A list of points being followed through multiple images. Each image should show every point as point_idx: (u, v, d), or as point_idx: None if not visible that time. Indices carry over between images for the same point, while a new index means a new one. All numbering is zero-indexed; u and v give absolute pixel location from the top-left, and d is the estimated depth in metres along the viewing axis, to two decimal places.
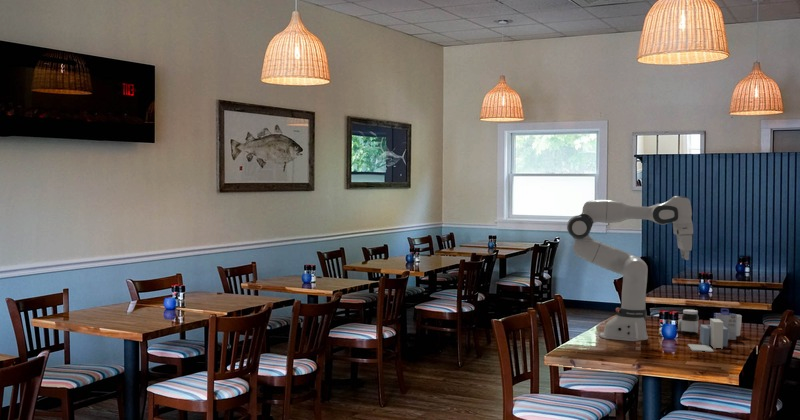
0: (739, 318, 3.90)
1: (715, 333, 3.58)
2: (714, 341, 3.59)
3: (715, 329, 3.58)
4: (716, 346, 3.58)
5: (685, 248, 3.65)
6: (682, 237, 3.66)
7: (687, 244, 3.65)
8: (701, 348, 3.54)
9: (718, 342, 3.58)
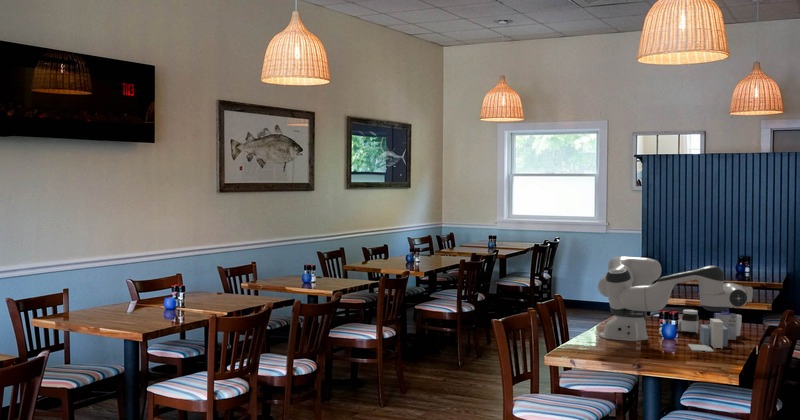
0: (739, 318, 3.90)
1: (715, 333, 3.58)
2: (714, 341, 3.59)
3: (715, 329, 3.58)
4: (716, 346, 3.58)
5: None
6: (751, 298, 3.35)
7: None
8: (701, 348, 3.54)
9: (718, 342, 3.58)
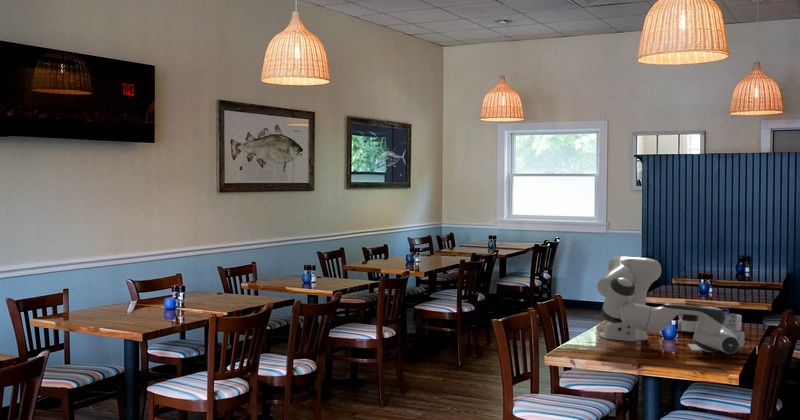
0: (739, 318, 3.90)
1: None
2: None
3: None
4: None
5: None
6: None
7: None
8: (701, 348, 3.54)
9: None
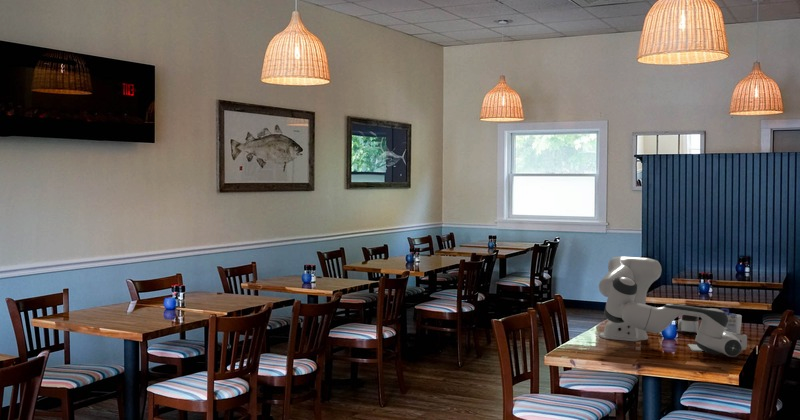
0: (739, 318, 3.90)
1: None
2: None
3: None
4: None
5: None
6: None
7: None
8: None
9: None
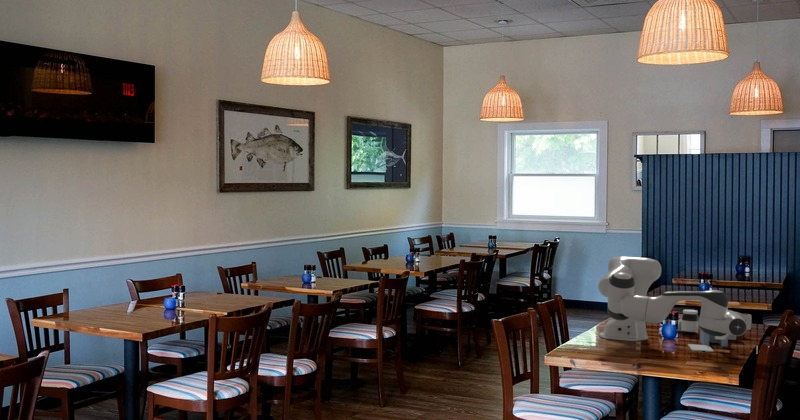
0: None
1: None
2: None
3: None
4: None
5: None
6: None
7: None
8: (701, 348, 3.54)
9: None
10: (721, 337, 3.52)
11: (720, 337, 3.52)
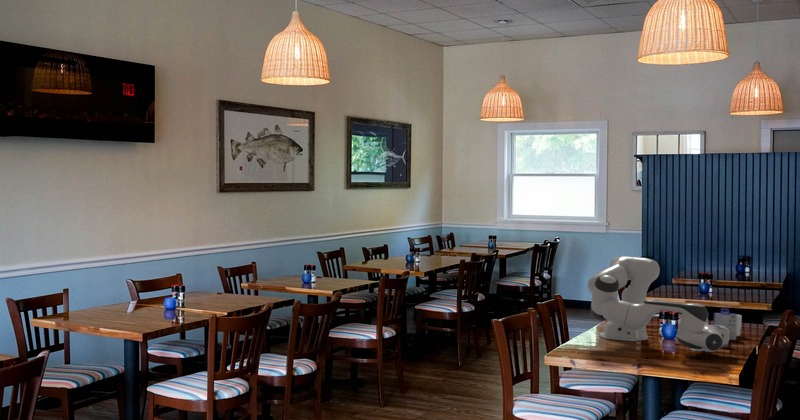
0: (739, 318, 3.90)
1: None
2: None
3: None
4: None
5: None
6: None
7: None
8: None
9: None
10: None
11: None
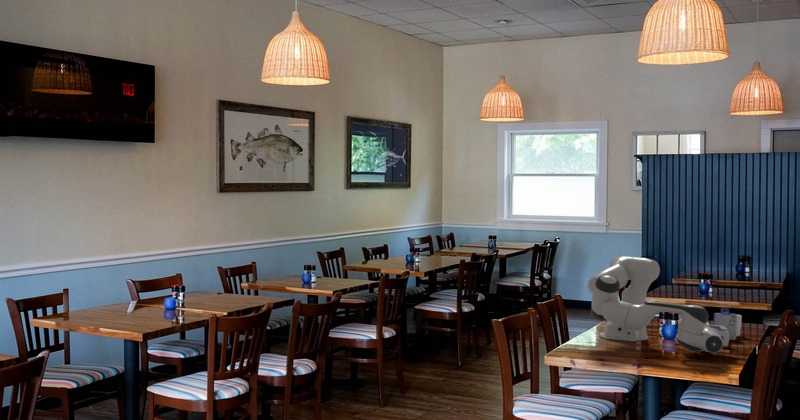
0: (739, 318, 3.90)
1: None
2: None
3: None
4: None
5: None
6: None
7: None
8: None
9: None
10: None
11: None
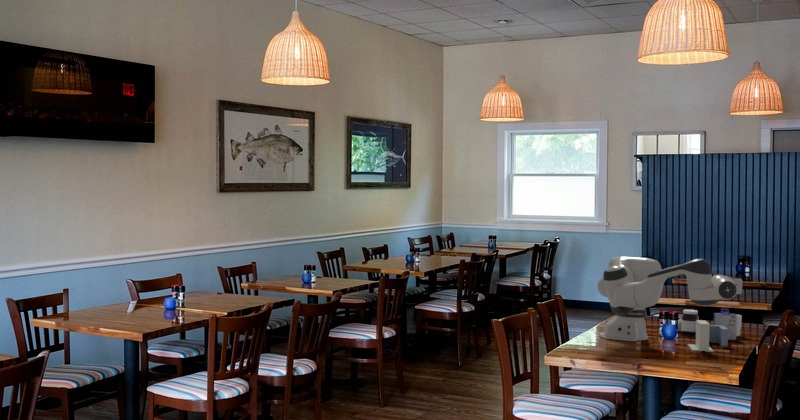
0: (739, 318, 3.90)
1: (701, 335, 3.49)
2: (700, 343, 3.49)
3: (701, 331, 3.49)
4: (702, 348, 3.49)
5: None
6: None
7: None
8: None
9: (704, 344, 3.49)
10: None
11: None
